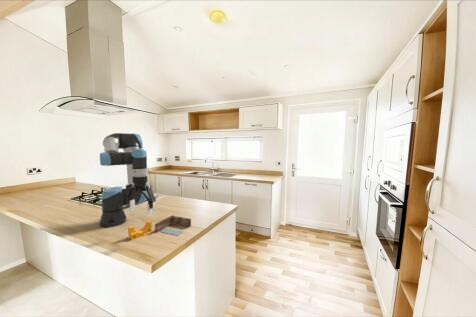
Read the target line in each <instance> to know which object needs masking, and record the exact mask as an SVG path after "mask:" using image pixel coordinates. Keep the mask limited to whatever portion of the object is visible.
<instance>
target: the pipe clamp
mask: <svg viewBox="0 0 476 317" xmlns="http://www.w3.org/2000/svg"><path fill="white" fill-rule="evenodd" d="M127 229H128V232H127V233H128V239H129V240H131V241H134V240H136V239H139V238H141V237H143V236H145V234H148V233H149V234H150V233H152V221H151V220H146V221H145V224H144V226H143V227H142V228H141V229H139V230H136V229H135V226H133V225H131V226H127Z"/></svg>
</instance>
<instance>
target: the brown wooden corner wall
mask: <svg viewBox="0 0 476 317" xmlns="http://www.w3.org/2000/svg"><path fill="white" fill-rule="evenodd" d="M171 225H177V226H181V227H186V228H187V227H188V228H190V227H192V219H191V218H188V217H184V216H178V215H170V216H168V217H166V218H164V219H162V220H160V221H158V222H156V223H155V225H154V227H155V230H154V231H155V233H158V232H160V231H162V230H163V229H165V228H167V227H169V226H171Z"/></svg>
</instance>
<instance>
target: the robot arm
mask: <svg viewBox="0 0 476 317" xmlns="http://www.w3.org/2000/svg"><path fill="white" fill-rule="evenodd" d="M102 146H103V148H104V150H103V151H104V152H100V153H99V163H100V164H99V165H101V166H103V167H105V166H106V167H108V166H109V167H111V166H125V165H126V174H127V184H126V185H125V188H123V187H122V186H115V187H111V188H107V189H104V190H103V191H102V192H101V207H102V208H101V209H102V210H101V211H102V213H101V216H100V219H99V226H100V227H103V228H111V227H117V226H119V225H121V224H125V223H126V222H127V216H126V213H125V210H124V206H125V207H126V206H129V211H130V212H134V211H136V204H137V205H139V204H143V203H145V202H146V201H147V204H146V208H147V216H149V215H152V214H153V209H154V203H155V202H156V201H157V199H156V197H155V194H154V192H153V190H152V184H147V183H148V163H147V162H148V161H147V160H148V159H147V158H148V157H147V156H148V154H147V149H146V148H143V146H144V145H143V140H142V136H141V134H138V133H128V132H127V133H124V132H123V133H121V132H115V133H112V134H109V135H106V136H105V137H104V139H103V140H102ZM119 149H121V150H122V151H120V150H119Z"/></svg>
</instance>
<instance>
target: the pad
mask: <svg viewBox="0 0 476 317" xmlns="http://www.w3.org/2000/svg"><path fill="white" fill-rule="evenodd" d="M159 232H160V233H164V234H168V235H172V236H179V235H181V234H182V233H183V231H182V230H177V229H173V228H167V227H166V228H164V229H162V230H160V231H159Z"/></svg>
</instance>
